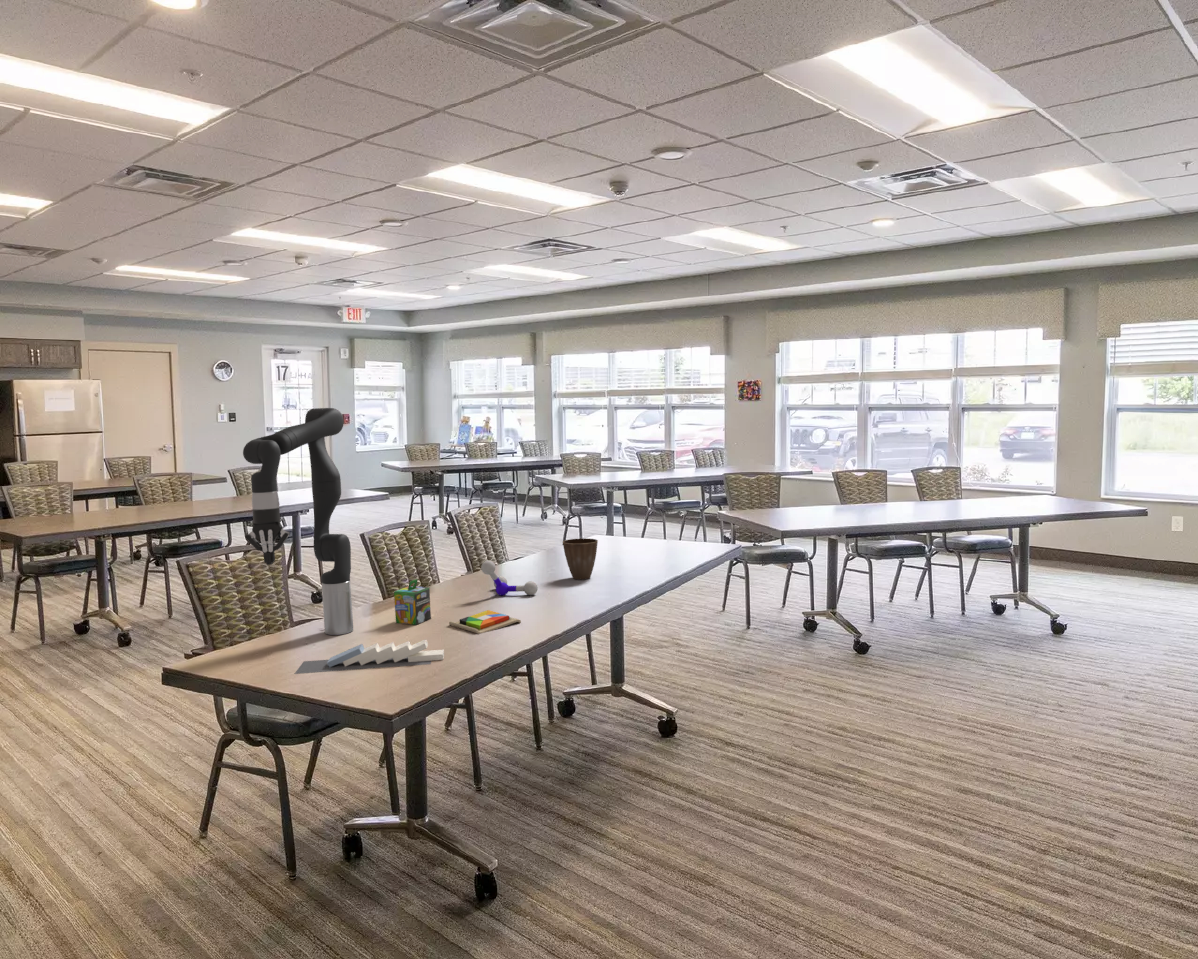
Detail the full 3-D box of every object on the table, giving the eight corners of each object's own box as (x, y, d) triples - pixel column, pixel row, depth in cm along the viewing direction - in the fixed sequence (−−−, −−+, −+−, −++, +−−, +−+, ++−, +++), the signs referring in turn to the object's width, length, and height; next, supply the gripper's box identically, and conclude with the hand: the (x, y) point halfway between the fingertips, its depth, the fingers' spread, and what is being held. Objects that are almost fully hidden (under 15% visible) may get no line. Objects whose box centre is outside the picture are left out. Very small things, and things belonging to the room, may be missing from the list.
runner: (294, 675, 239) (294, 673, 239) (303, 662, 251) (303, 661, 251) (430, 665, 244) (430, 664, 244) (433, 653, 256) (433, 652, 256)
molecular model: (533, 600, 323) (531, 561, 322) (481, 600, 326) (479, 561, 325) (545, 588, 344) (543, 551, 343) (496, 588, 347) (494, 552, 346)
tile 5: (392, 657, 246) (424, 643, 247) (394, 652, 251) (425, 638, 252) (394, 662, 246) (426, 648, 247) (396, 657, 251) (428, 643, 252)
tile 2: (342, 661, 244) (375, 647, 245) (345, 656, 249) (377, 642, 250) (345, 666, 244) (377, 652, 245) (348, 661, 249) (379, 647, 250)
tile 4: (375, 659, 245) (407, 645, 246) (377, 654, 250) (409, 640, 251) (377, 664, 245) (409, 650, 246) (379, 659, 250) (411, 645, 251)
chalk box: (410, 617, 303) (408, 576, 301) (432, 619, 299) (429, 577, 298) (394, 623, 294) (392, 581, 293) (416, 625, 290) (414, 583, 289)
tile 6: (408, 656, 246) (442, 654, 248) (409, 651, 251) (443, 649, 252) (408, 662, 246) (443, 659, 248) (410, 657, 251) (444, 654, 253)
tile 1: (326, 662, 244) (359, 648, 244) (330, 657, 249) (362, 643, 249) (329, 667, 244) (361, 653, 245) (332, 662, 249) (364, 648, 250)
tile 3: (358, 660, 245) (391, 646, 245) (361, 655, 250) (393, 641, 250) (361, 665, 245) (393, 651, 246) (363, 660, 250) (395, 646, 251)
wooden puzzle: (447, 627, 289) (446, 617, 288) (492, 616, 302) (492, 606, 301) (477, 636, 276) (476, 625, 276) (522, 624, 289) (522, 614, 288)
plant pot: (561, 575, 367) (560, 539, 365) (595, 573, 369) (594, 537, 368) (566, 582, 352) (565, 544, 351) (602, 580, 355) (600, 542, 353)
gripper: (239, 509, 249) (243, 567, 250) (285, 507, 250) (289, 565, 252) (246, 506, 256) (250, 563, 257) (291, 504, 258) (295, 560, 259)
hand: (269, 563), depth 255 cm, fingers closed
